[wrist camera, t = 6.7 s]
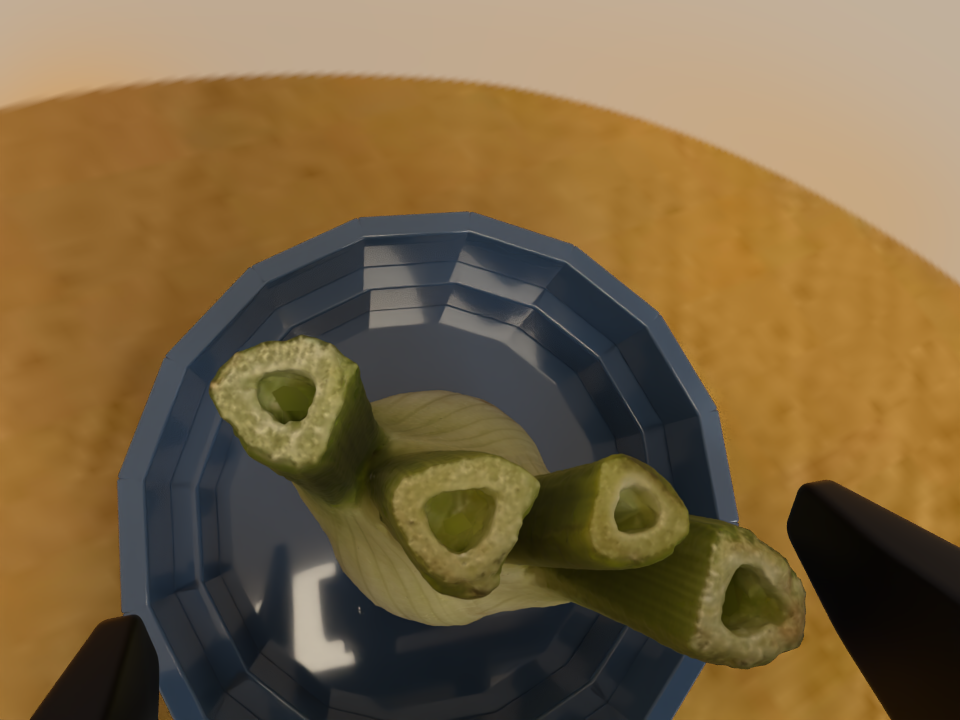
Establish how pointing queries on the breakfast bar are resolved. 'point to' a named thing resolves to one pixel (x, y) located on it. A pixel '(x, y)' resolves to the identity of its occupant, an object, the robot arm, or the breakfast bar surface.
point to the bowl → (384, 372)
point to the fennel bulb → (499, 513)
